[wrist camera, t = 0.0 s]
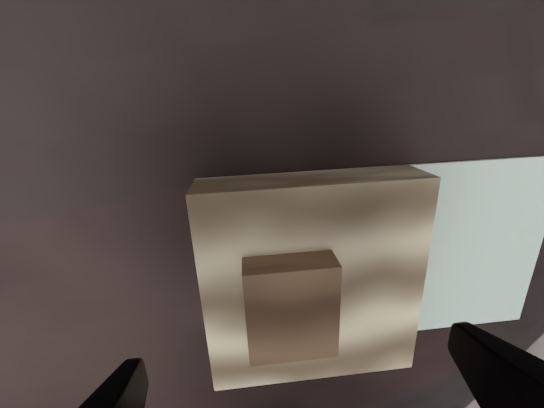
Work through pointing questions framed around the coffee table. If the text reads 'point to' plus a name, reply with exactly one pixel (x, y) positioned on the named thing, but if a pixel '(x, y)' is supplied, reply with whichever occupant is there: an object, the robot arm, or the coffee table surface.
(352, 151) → the coffee table surface
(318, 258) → the walnut tile
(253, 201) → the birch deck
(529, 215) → the sage mat
